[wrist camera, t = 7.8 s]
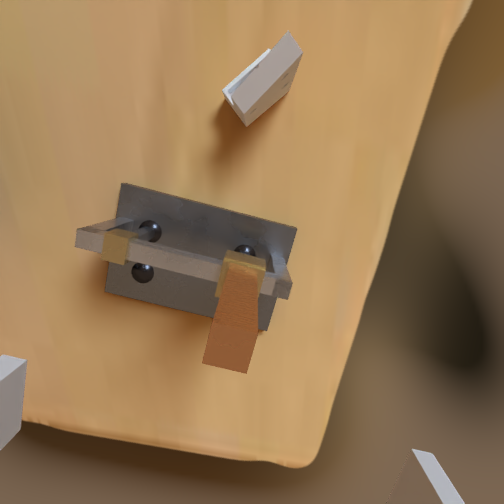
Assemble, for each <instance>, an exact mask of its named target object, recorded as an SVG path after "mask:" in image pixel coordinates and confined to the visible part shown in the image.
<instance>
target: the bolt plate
mask: <svg viewBox="0 0 504 504" xmlns="http://www.w3.org/2000/svg"><path fill="white" fill-rule="evenodd" d="M119 217H123V218H127V219H130V220H134V223H133V229H132V232H133V231H135V230H137V229H140V228H142V227H145V226H148V227H152V228H156V229H155V234H154V238H152V239H151V240H149V241H148V242H152V243H156V244H160V245H164V246H168V247H171V248H175V249H179V250H183V251H187V252H191V253H195V254H199V255H203V256H207V257H211V258H215V259H219V260H224V257H225V254H226V252H227V250H231V251H235V252H239V253H240V251H244V252H248V253H250V256H254V257H258V258H262V259H265V263H266V271H267V272H268V266H269V262H270V258H271V255H272V256H276V257H279V258H283V259H284V260H285V263H286V265H287V262H288V258H289V255H290V252H291V248H292V245H293V242H294V238H295V235H296V231H297V228H296V227H293V226H289V225H285V224H281V223H277V222H274V221H270V220H266V219H262V218H258V217H254V216H251V215H247V214H243V213H239V212H235V211H231V210H228V209H224V208H220V207H216V206H212V205H208V204H205V203H201V202H197V201H193V200H189V199H185V198H181V197H178V196H174V195H170V194H166V193H162V192H158V191H155V190H151V189H147V188H143V187H139V186H135V185H132V184H128V183H121V190H120V196H119V203H118V209H117V215H116V218H119ZM217 284H218V282H214V281H210V280H206V279H202V278H198V277H194V276H190V275H186V274H182V273H178V272H174V271H170V270H166V269H162V268H158V267H154V266H150V265H146V264H142V263H138V262H134V261H130V262H128V263H127V264H125V265H121V264H117V263H113V262H109V267H108V273H107V280H106V286H105V292H108V293H113V294H117V295H121V296H125V297H129V298H133V299H137V300H141V301H145V302H150V303H154V304H158V305H162V306H166V307H170V308H174V309H178V310H182V311H187V312H191V313H195V314H199V315H203V316H207V317H211V318H214V315H215V312H216V308H217V305H218V302H219V299H220V298H219V297H215V292H216V288H217ZM276 299H277V297H274V296H270V295H266V294H262V293H259V297H258V329H261V330H265V331H267V329H268V326H269V323H270V319H271V316H272V312H273V309H274V306H275V302H276Z"/></svg>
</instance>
